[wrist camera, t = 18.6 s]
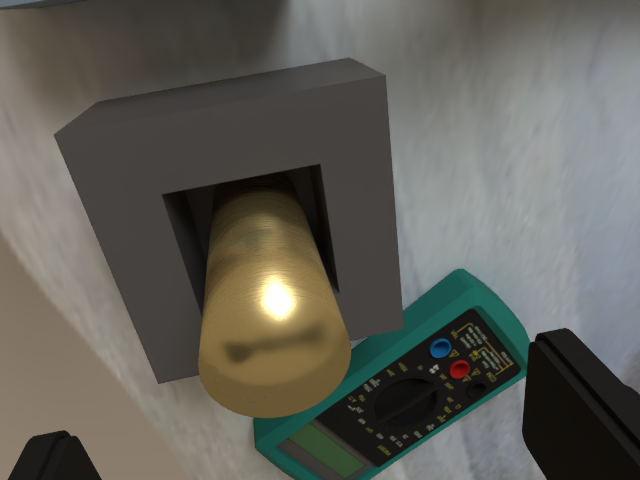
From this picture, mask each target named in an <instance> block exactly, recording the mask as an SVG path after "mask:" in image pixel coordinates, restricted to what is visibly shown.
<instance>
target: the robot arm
mask: <svg viewBox="0 0 640 480" xmlns="http://www.w3.org/2000/svg"><path fill="white" fill-rule="evenodd" d="M522 434H523V438H524V441H525V444H526V446H527V448H528V450H529V451H530V453H531V455H532V456H533V458H534V459H535V461H536V463H537V464H538V466H539V467H540V469H541V471H542V472H543V474H544V475H545V477H546V479H547V480H640V395H639V394H638V393H637V392H636V391H635V390H633V389H632V388H631V387H628V386H626V385H624V384H623V383H622V382H621V381H620V380H619V379H618V378H617V377H616V376H615V375H614V374H613V373H612V372H611V371H610V370H609V369H608V368H607V367H606V366H605V365H604V364H603V363H602V362H601V361H600V360H599V359H598V358H597V357H596V356H595V354H594V353H593V352H592V351H591V350H590V349H589V348H588V347H587V346H586V345H585V344H584V343H583V342H582V341H581V340H580V339H579V338H578V337H577V336H576V335H575V334H574V333H573V332H572V331H570V330H569V329H566V328H563V329H558V330H553V331H548V332H543V333H539V334H537V336H536V338H535V342H531V343H530V344H529V349H528V361H527V374H526V387H525V399H524V412H523V425H522ZM8 480H102V479H101V478H100V476H99V474H98V472H97V471H96V469H95V467H94V465H93V463H92V461H91V460H90V458H89V456H88V454H87V452H86V451H85V449H84V447H83V445H82V444H81V442H80V440H79V439H78V437H76V436H70V434H69V433H68V432H67V431H65V430H63V431H57V432H53V433H48V434H43V435H38V436H33V437H32V438H31V439H30V440H29V441H28V442H27V444H26V445H25V448H24V449H23V451H22V453H21V455H20V457H19V459H18V461H17V463H16V465H15V467H14V469H13V471H12V473H11V474H10V476H9V478H8Z"/></svg>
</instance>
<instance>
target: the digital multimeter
mask: <svg viewBox="0 0 640 480" xmlns="http://www.w3.org/2000/svg"><path fill="white" fill-rule="evenodd" d="M486 323H487V324H486ZM403 324H404V329H400V330H395V331H391V332H386V333H382V334H377V335H373V336H369V337H368V338H367V339H365V340H364V341H363V342H361V343H360V344H359V345H357V346H356V347H354V348H353V349H352V350H351V360H350V364H349V368H348V370H347V372H346V375H345V376H344V378H343V380H342V382H341V383H340V384H339V385H338V387H337V388H336V389H335V390H334V391H333V392H332V393H331V394H330V395H329V396H328V397H327V398H325V399H324V400H323V401H321V402H320V403H318V404H317V405H315V406H313V407H311V408H309V409H307V410H304V411H302V412H299V413H296V414H293V415H289V416H284V417H276V418H258V417H255V418H254V439H255V448H256V449H257V451H259V452H260V453H261V454H262V455H263V456H265V457H266V458H267V459H268V460H269V461H270V462H272V463H273V464H274V465H275V466H277V467H278V468H279V469H281V470H282V471H283V472H284V473H286V474H287V475H289V476H290V477H292V478H293V479H295V480H370V479H371V478H372V477H374V476H375V475H377V474H378V473H380V472H381V471H382V470H384V469H385V468H387V467H388V466H390V465H391V464H393V463H394V462H395V461H397V460H398V459H400V458H401V457H403V456H404V455H406V454H407V453H409V452H410V451H412V450H413V449H415V448H416V447H418V446H419V445H421V444H422V443H424V442H425V441H427V440H428V439H430V438H431V437H432V436H434V435H435V434H437V433H438V432H440V431H441V430H443V429H445V428H446V427H448V426H449V425H451V424H452V423H454V422H455V421H457V420H458V419H460V418H462V417H463V416H465V415H466V414H468V413H469V412H471V411H472V410H474V409H476V408H477V407H479V406H480V405H482V404H483V403H485V402H486V401H488V400H489V399H491V398H493V397H494V396H496V395H497V394H499V393H500V392H502V391H504V390H505V389H507V388H508V387H510V386H511V385H513V384H515V383H516V382H518V381H519V380H521V379H522V378H524V377H525V376H526V374H527V361H528V349H529V344H530V340H529V338H528V336H527V333H526V331H525V328H524V327H523V326H522V324H521V323H520V321H519V320H518V319H517V317H516V316H515V315H514V313H513V312H512V311H511V310H510V309H509V308H508V307H507V306H506V304H505V303H504V302H503V301H502V300H501V299H500V298H499V297H498V296H497V295H496V294H495V293H494V292H493V291H492V290H491V289H490V288H488V287H487V286H486V285H485V284H484V283H483V282H481V281H480V280H478V279H477V278H476V277H474V276H473V275H471V274H470V273H468V272H467V271H465V270H464V269H457V270H455V271H453V272H452V273H451V274H449V275H448V276H447V277H445V278H444V279H443V280H442V281H440V282H439V283H438V284H437V285H435V286H434V287H433V288H432V289H430V290H429V291H428V292H427V293H425V294H424V295H423V296H422V297H421V298H419V299H418V300H417V301H416V302H414V303H413V304H412V305H410V306H409V307H408V308H406V309H405V310H404V311H403ZM381 427H382V428H381ZM386 429H387V430H386Z"/></svg>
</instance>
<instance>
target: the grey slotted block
mask: <svg viewBox="0 0 640 480" xmlns="http://www.w3.org/2000/svg"><path fill="white" fill-rule="evenodd" d="M54 137H55V139H56V141H57V144H58V146H59V149H60V151H61V153H62V156H63V158H64V160H65V163H66V165H67V168H68V170H69V172H70V175H71V177H72V180H73V182H74V184H75V187H76V189H77V191H78V194H79V196H80V199H81V201H82V203H83V206H84V208H85V210H86V213H87V215H88V218H89V220H90V222H91V225H92V227H93V229H94V232H95V234H96V237H97V239H98V241H99V244H100V246H101V248H102V251H103V253H104V256H105V258H106V260H107V263H108V265H109V267H110V270H111V272H112V275H113V277H114V279H115V282H116V284H117V286H118V289H119V291H120V294H121V296H122V298H123V301H124V303H125V306H126V308H127V310H128V313H129V315H130V317H131V320H132V322H133V325H134V327H135V329H136V332H137V334H138V336H139V339H140V341H141V344H142V346H143V348H144V351H145V353H146V355H147V358H148V360H149V363H150V365H151V367H152V370H153V372H154V374H155V377H156V379H157V382H158V384H160V383H165V382H169V381H173V380H178V379H182V378H187V377H191V376H196V375H200V374H199V368H198V359H199V348H200V337H201V327H202V316H203V305H204V294H205V283H206V272H207V261H208V251H209V240H210V229H211V218H212V207H213V197H214V193H215V190H216V188H217V186H218V184H219V183H223V182H228V181H233V180H238V179H244V178H249V177H254V176H259V175H264V174H269V173H275V172H280V171H281V172H283V173H284V174H285V175H286V176H287V177H288V178H289V179H290V180H291V181H292V183H293V185H294V186H295V189H296V191H297V194H298V197H299V200H300V202H301V205H302V208H303V211H304V213H305V216H306V219H307V222H308V225H309V227H310V230H311V233H312V236H313V238H314V241H315V244H316V247H317V250H318V252H319V255H320V258H321V261H322V263H323V266H324V269H325V272H326V275H327V277H328V280H329V283H330V286H331V288H332V291H333V294H334V297H335V300H336V302H337V305H338V308H339V311H340V313H341V316H342V319H343V322H344V325H345V327H346V330H347V333H348V336H349V339H350V341H351V340H355V339H360V338H364V337H369V336H373V335H377V334H382V333H386V332H391V331H395V330H400V329H404V324H403V310H402V296H401V282H400V268H399V255H398V241H397V227H396V213H395V199H394V185H393V172H392V158H391V144H390V130H389V116H388V103H387V89H386V75H384V74H382V73H380V72H378V71H376V70H374V69H372V68H370V67H368V66H366V65H364V64H362V63H360V62H358V61H356V60H353V59H351V58H345V59H339V60H334V61H328V62H322V63H317V64H311V65H305V66H299V67H294V68H288V69H282V70H277V71H271V72H265V73H260V74H254V75H248V76H243V77H237V78H231V79H225V80H220V81H214V82H208V83H203V84H197V85H191V86H186V87H180V88H174V89H169V90H163V91H157V92H152V93H146V94H140V95H134V96H129V97H123V98H117V99H112V100H106V101H100V102H97V103H95V104H94V105H93V106H91V107H90V108H89V109H87V110H86V111H85V112H83V113H82V114H81V115H79V116H78V117H77V118H75V119H74V120H73V121H71V122H70V123H69V124H67V125H66V126H65V127H63V128H62V129H61V130H59V131H58V132H57V133H55V134H54Z"/></svg>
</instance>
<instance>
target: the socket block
mask: <svg viewBox="0 0 640 480" xmlns="http://www.w3.org/2000/svg"><path fill="white" fill-rule="evenodd" d="M78 1H84V0H0V10H3V9H29V8H40V7H46V6H53V5H59V4H65V3H72V2H78Z"/></svg>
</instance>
